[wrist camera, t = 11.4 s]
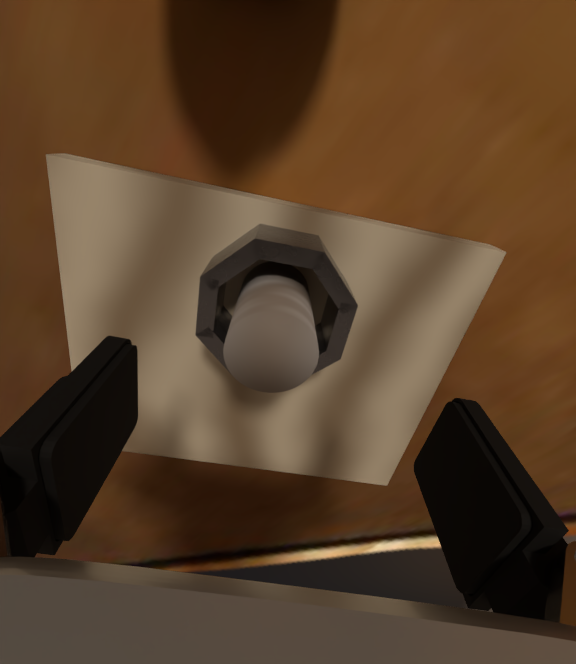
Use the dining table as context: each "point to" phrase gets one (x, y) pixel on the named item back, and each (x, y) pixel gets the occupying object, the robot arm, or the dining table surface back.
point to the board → (187, 381)
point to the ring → (284, 250)
